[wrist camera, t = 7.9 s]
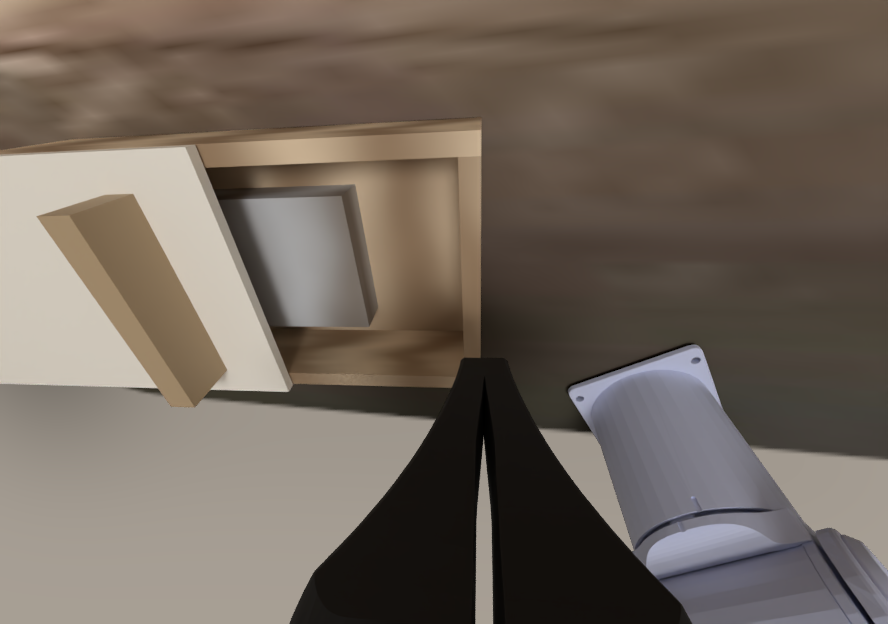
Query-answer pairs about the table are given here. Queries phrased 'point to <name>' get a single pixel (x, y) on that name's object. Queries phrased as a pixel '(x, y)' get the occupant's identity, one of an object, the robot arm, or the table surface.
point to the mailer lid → (126, 277)
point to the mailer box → (351, 241)
